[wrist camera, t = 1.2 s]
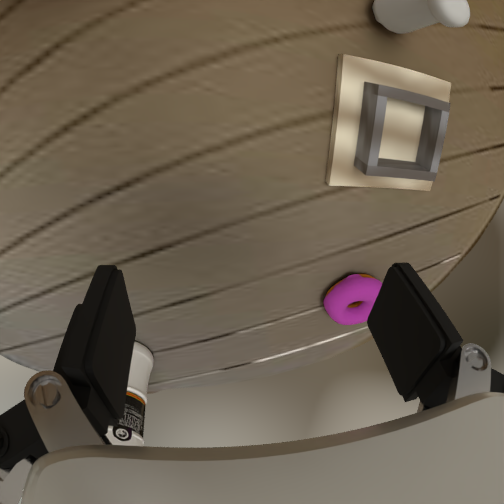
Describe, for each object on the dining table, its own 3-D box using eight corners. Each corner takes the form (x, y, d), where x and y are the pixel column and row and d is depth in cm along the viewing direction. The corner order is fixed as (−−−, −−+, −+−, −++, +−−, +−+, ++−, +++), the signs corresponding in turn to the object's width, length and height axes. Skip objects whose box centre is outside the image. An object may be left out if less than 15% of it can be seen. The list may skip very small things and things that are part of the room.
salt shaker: (356, 11, 25) (423, -3, 14) (379, -17, 22) (448, -35, 12) (392, 43, 27) (465, 47, 16) (413, 15, 25) (486, 13, 14)
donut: (311, 291, 48) (319, 311, 44) (365, 255, 45) (377, 273, 41) (339, 320, 53) (347, 339, 49) (387, 290, 50) (397, 308, 46)
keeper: (338, 54, 28) (356, 54, 24) (444, 81, 30) (468, 87, 26) (325, 180, 37) (339, 197, 33) (424, 186, 39) (443, 202, 35)
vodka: (100, 354, 52) (76, 501, 27) (116, 329, 48) (89, 499, 24) (142, 371, 56) (132, 514, 31) (162, 350, 52) (156, 513, 28)
